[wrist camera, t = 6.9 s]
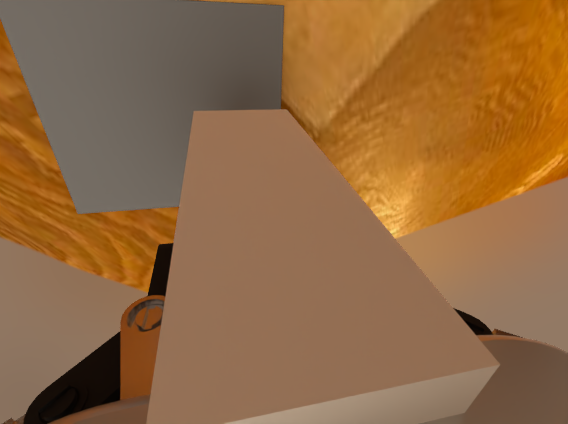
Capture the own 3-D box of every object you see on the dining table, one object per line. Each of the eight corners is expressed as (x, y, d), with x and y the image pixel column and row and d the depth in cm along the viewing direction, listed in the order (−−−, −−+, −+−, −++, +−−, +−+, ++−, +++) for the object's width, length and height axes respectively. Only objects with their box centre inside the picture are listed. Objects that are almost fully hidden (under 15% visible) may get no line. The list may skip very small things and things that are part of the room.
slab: (292, 109, 14) (517, 360, 4) (285, 248, 18) (380, 534, 8) (193, 110, 13) (142, 441, 3) (211, 256, 17) (216, 587, 7)
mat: (282, 5, 22) (284, 5, 21) (277, 197, 30) (277, 199, 30) (-7, -10, 18) (-12, -11, 18) (79, 211, 27) (78, 213, 27)
